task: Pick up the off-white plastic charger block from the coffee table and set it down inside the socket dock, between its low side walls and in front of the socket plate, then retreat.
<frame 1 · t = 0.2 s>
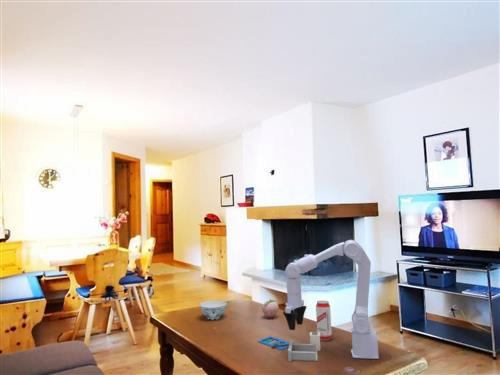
hand: (295, 326, 147), 10 cm above the table, fingers open, 7 cm apart
charger: (315, 348, 148), on the table
dock: (305, 355, 141), on the table
chinaware: (213, 318, 198), on the table
dark gray rod: (284, 346, 152), on the table
beer can: (324, 339, 159), on the table
decorative fruit: (270, 318, 195), on the table
handheld gaming device: (275, 344, 156), on the table
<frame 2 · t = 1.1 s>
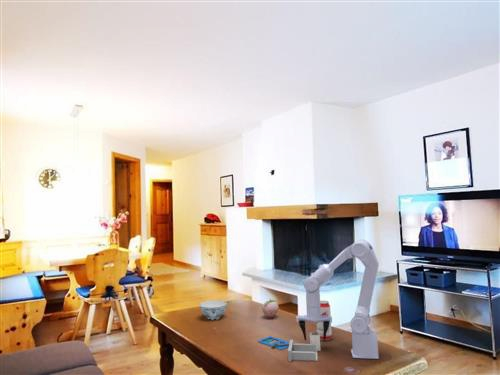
hand: (314, 339, 149), 4 cm above the table, fingers open, 7 cm apart
nothing on the table moved.
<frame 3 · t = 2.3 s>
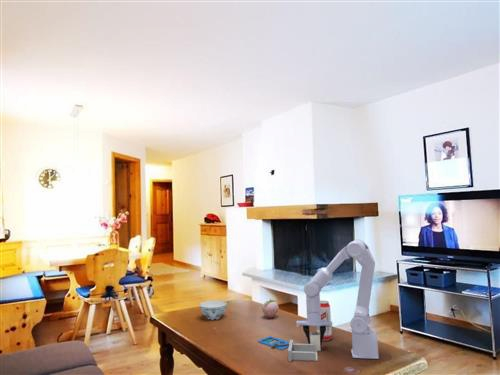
hand: (315, 344, 148), 2 cm above the table, fingers closed on charger, 4 cm apart
charger: (315, 348, 148), on the table, touching gripper
everything else where it was.
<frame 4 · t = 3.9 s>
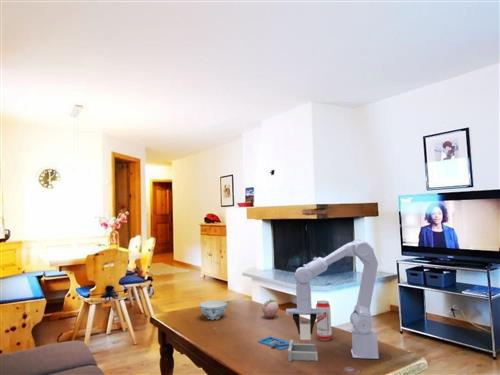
hand: (305, 333, 142), 8 cm above the table, fingers closed on charger, 4 cm apart
charger: (305, 338, 142), point 7 cm above the table, touching gripper
everything else where it was.
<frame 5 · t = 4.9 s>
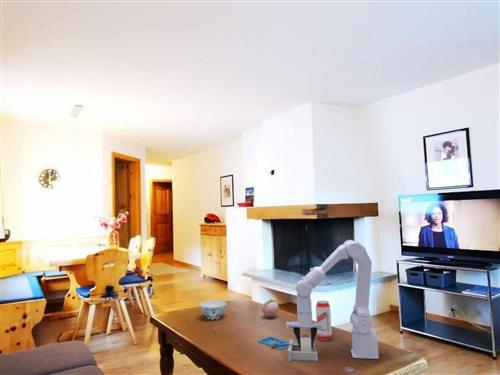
hand: (306, 347, 142), 3 cm above the table, fingers closed on charger, 4 cm apart
charger: (306, 351, 142), point 1 cm above the table, touching gripper
everything else where it was.
when the fingers open (3 cm above the table, at t = 5.6 s): charger drops 1 cm, resting on dock.
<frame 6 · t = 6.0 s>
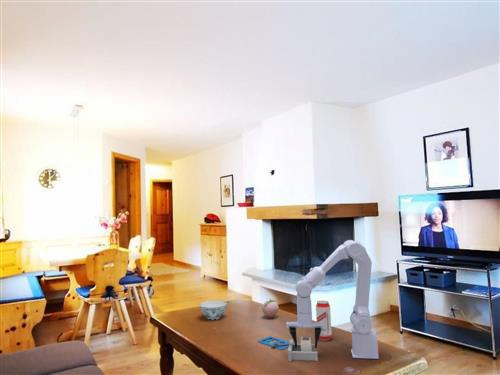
hand: (306, 347, 142), 3 cm above the table, fingers open, 7 cm apart
charger: (306, 354, 142), resting on dock
everything else where it was.
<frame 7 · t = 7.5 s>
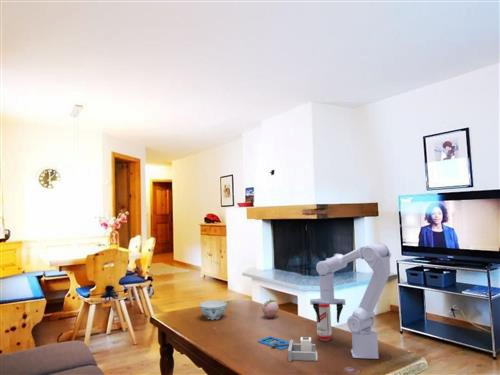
hand: (328, 321, 153), 9 cm above the table, fingers open, 7 cm apart
nothing on the table moved.
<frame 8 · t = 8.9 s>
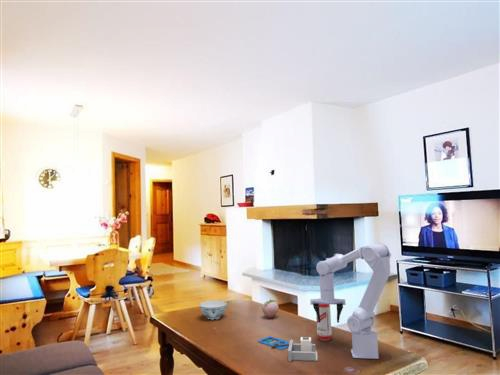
hand: (328, 321, 153), 9 cm above the table, fingers open, 7 cm apart
nothing on the table moved.
at the end: charger inside the target area on the dock (1.0 cm from its centre), point 0.3 cm above the dock's base; charger tilted 0°; the gripper is holding nothing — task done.
